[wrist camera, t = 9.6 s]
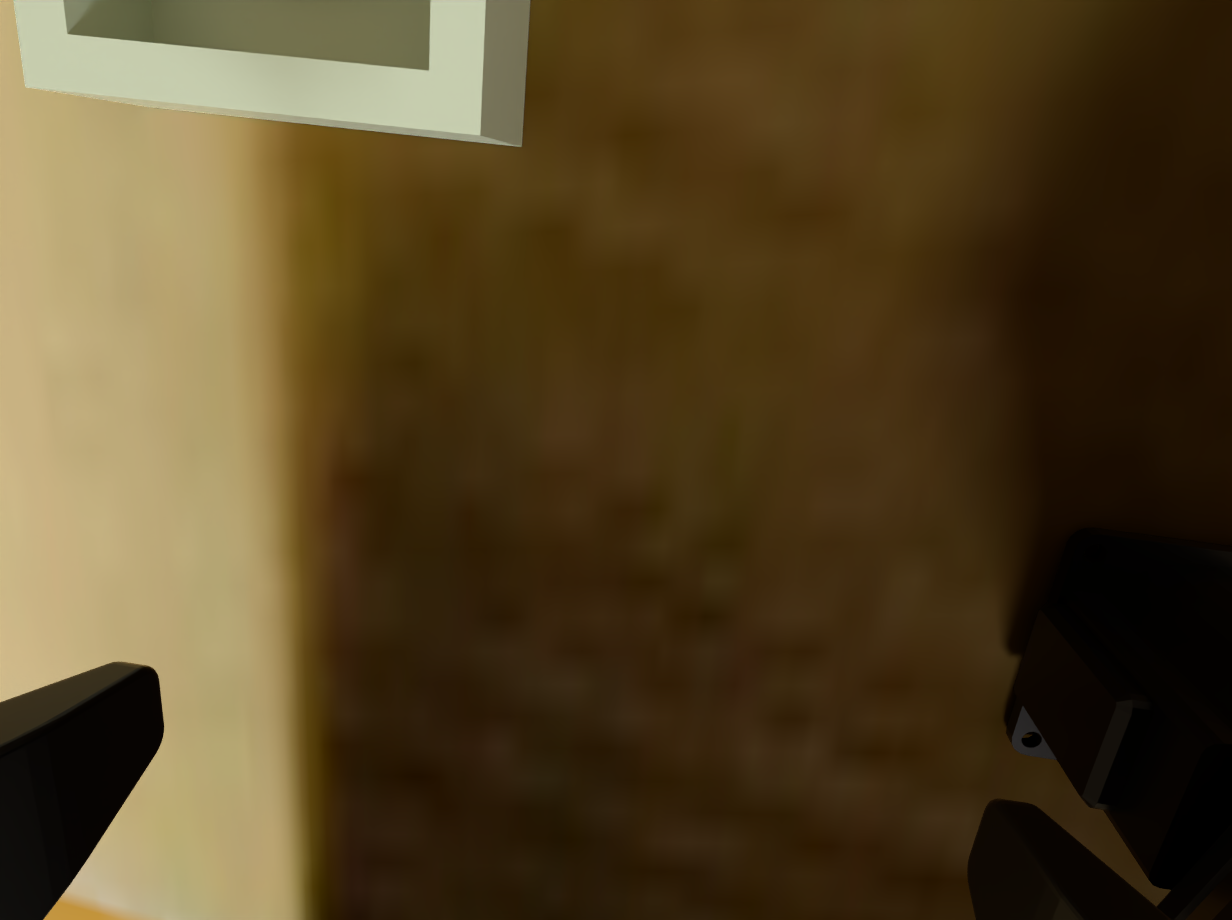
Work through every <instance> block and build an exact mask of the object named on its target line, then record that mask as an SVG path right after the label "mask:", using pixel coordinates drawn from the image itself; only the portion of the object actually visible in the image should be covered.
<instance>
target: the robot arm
mask: <svg viewBox="0 0 1232 920" xmlns="http://www.w3.org/2000/svg"><path fill="white" fill-rule="evenodd" d="M1092 544H1099V548H1098V549H1097V551H1096V552H1095V553H1094V554H1092V555H1088V556H1084V552H1085V550H1086V549H1087V547H1089V546H1091V545H1092ZM1014 692H1015V694H1016V695H1017V697H1016V700H1015V703H1014V707H1013V710H1012V713H1011V716H1010V719H1009V722H1008V725H1007V730H1006V734H1007V736H1008V738H1009V740H1010V742H1011V744H1012V745H1013V747H1014V749H1015V750H1017V751H1018V752H1019V753H1021V754H1024V755H1029V756H1035V757H1042V758H1048V759H1055V760H1057V761H1058V762H1059V764H1060V765H1061V767H1062V769H1063V770H1064V772H1065V773H1066V775H1067V776H1068V778H1069V780H1070V781H1071V783H1072V784H1073V786H1074V788H1075V789H1076V791H1077V792H1078V794H1079V795H1080V797H1081V798H1082V799H1083V801H1084V802H1085V803H1086V804H1087V805H1088V806H1089V807H1090V808H1095V809H1101V810H1104V812H1105V813H1106V815H1107V816H1108V818H1109V820H1110V821H1111V823H1112V824H1113V826H1114V827H1115V829H1116V830H1117V832H1118V833H1119V835H1120V836H1121V838H1122V839H1123V841H1124V842H1125V844H1126V846H1127V847H1128V849H1129V850H1130V852H1131V853H1132V855H1133V856H1134V858H1135V859H1136V861H1137V862H1138V864H1139V865H1140V867H1141V869H1142V870H1143V872H1144V873H1145V875H1146V876H1147V878H1148V879H1149V881H1150V882H1151V883H1152V885H1154V886H1156V887H1159V888H1163V889H1169V890H1171V891H1170V892H1169V893H1168V894H1167V896H1166V897H1165V898H1164V899H1163V900H1162V901H1161V902H1160V903H1159V904H1158V906H1157V907H1156V906H1155V905H1153V904H1152V903H1151V902H1150V901H1149V900H1147V899H1146V898H1145V897H1144V896H1143V895H1142V894H1140V893H1139V892H1138V891H1137V890H1136V889H1134V888H1133V887H1132V886H1131V885H1130V884H1128V883H1127V882H1126V881H1125V880H1124V879H1123V878H1121V877H1120V876H1119V875H1118V874H1117V873H1115V872H1114V871H1113V870H1112V869H1111V868H1110V867H1108V866H1107V865H1106V864H1105V863H1104V862H1102V861H1101V860H1100V859H1099V858H1098V857H1096V856H1095V855H1094V854H1093V853H1092V852H1091V851H1089V850H1088V849H1087V848H1086V847H1085V846H1083V845H1082V844H1081V843H1080V842H1079V841H1077V840H1076V839H1075V838H1074V837H1073V836H1072V835H1070V834H1069V833H1068V832H1067V831H1066V830H1064V829H1063V828H1062V827H1061V826H1060V825H1058V824H1057V823H1056V822H1055V821H1054V820H1053V819H1051V818H1050V817H1049V816H1048V815H1047V814H1045V813H1044V812H1043V811H1042V810H1041V809H1039V808H1038V807H1037V806H1035V805H1032V804H1029V803H1024V802H1018V801H1011V800H1005V799H994V800H992V801H990V802H989V803H988V805H987V806H986V808H985V810H984V814H983V817H982V820H981V823H980V826H979V829H978V832H977V835H976V838H975V841H974V844H973V847H972V850H971V853H970V856H969V860H968V883H969V889H970V894H971V898H972V903H973V908H974V913H975V917H976V920H1232V546H1226V545H1218V544H1211V543H1203V542H1196V541H1188V540H1181V539H1173V538H1166V537H1158V536H1151V535H1143V534H1136V533H1128V532H1121V531H1113V530H1106V529H1098V528H1085V529H1082V530H1080V531H1077V532H1076V533H1075V534H1073V535H1072V536H1071V537H1070V539H1069V541H1068V542H1067V545H1066V548H1065V551H1064V554H1063V557H1062V560H1061V563H1060V566H1059V569H1058V572H1057V575H1056V578H1055V581H1054V584H1053V587H1052V590H1051V594H1050V597H1049V600H1048V603H1047V604H1045V605H1044V606H1043V607H1042V608H1041V609H1040V610H1039V611H1038V614H1037V617H1036V620H1035V623H1034V626H1033V629H1032V632H1031V635H1030V638H1029V642H1028V645H1027V648H1026V651H1025V654H1024V657H1023V660H1022V663H1021V666H1020V669H1019V672H1018V675H1017V679H1016V682H1015V685H1014ZM1028 732H1035V733H1034V734H1033V735H1032V736H1030V737H1029V738H1022V737H1023V736H1024V734H1026V733H1028ZM163 733H164V721H163V712H162V703H161V694H160V685H159V678H158V674H157V673H156V671H155V670H154V669H153V668H151V667H150V666H146V665H140V664H133V663H127V662H112V663H109V664H106V665H103V666H100V667H98V668H95V669H92V670H89V671H87V672H84V673H81V674H78V675H75V676H73V677H70V678H67V679H64V680H61V681H59V682H56V683H53V684H50V685H47V686H45V687H42V688H39V689H36V690H33V691H31V692H28V693H25V694H22V695H20V696H17V697H14V698H11V699H8V700H6V701H3V702H0V920H43V919H44V918H45V917H46V915H47V914H48V913H49V911H50V910H51V909H52V908H53V906H54V905H55V904H56V902H57V901H58V900H59V898H60V897H61V896H62V894H63V893H64V892H65V890H66V889H67V888H68V886H69V885H70V884H71V882H72V881H73V879H74V878H75V877H76V875H77V874H78V872H79V871H80V869H81V868H82V866H83V865H84V864H85V862H86V861H87V859H88V858H89V856H90V855H91V853H92V851H93V850H94V848H95V847H96V845H97V844H98V842H99V841H100V839H101V838H102V836H103V834H104V833H105V831H106V830H107V828H108V827H109V825H110V824H111V822H112V821H113V819H114V818H115V816H116V814H117V813H118V811H119V810H120V808H121V807H122V805H123V804H124V802H125V801H126V799H127V797H128V796H129V794H130V793H131V791H132V790H133V788H134V787H135V785H136V784H137V782H138V780H139V779H140V777H141V776H142V774H143V773H144V771H145V770H146V768H147V767H148V765H149V764H150V762H151V760H152V759H153V757H154V756H155V754H156V753H157V751H158V749H159V747H160V744H161V742H162V738H163Z"/></svg>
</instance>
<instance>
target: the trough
mask: <svg viewBox="0 0 1232 920" xmlns="http://www.w3.org/2000/svg"><path fill="white" fill-rule="evenodd" d="M14 8H15V15H16V22H17V30H18V37H19V44H20V52H21V59H22V66H23V74H24V81H25V87H27V88H34V89H40V90H46V91H52V92H58V93H64V94H71V95H77V96H83V97H89V98H95V99H102V100H108V101H114V102H120V103H126V104H132V105H139V106H145V107H153V108H162V109H171V110H181V111H190V112H200V113H209V114H218V115H228V116H237V117H246V118H256V119H265V120H274V121H284V122H293V123H303V124H312V125H321V126H331V127H340V128H349V129H359V130H368V131H377V132H387V133H396V134H406V135H415V136H424V137H434V138H443V139H452V140H462V141H471V142H480V143H490V144H499V145H509V146H518V147H522V135H523V117H524V100H525V83H526V66H527V49H528V31H529V14H530V0H14Z"/></svg>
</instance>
